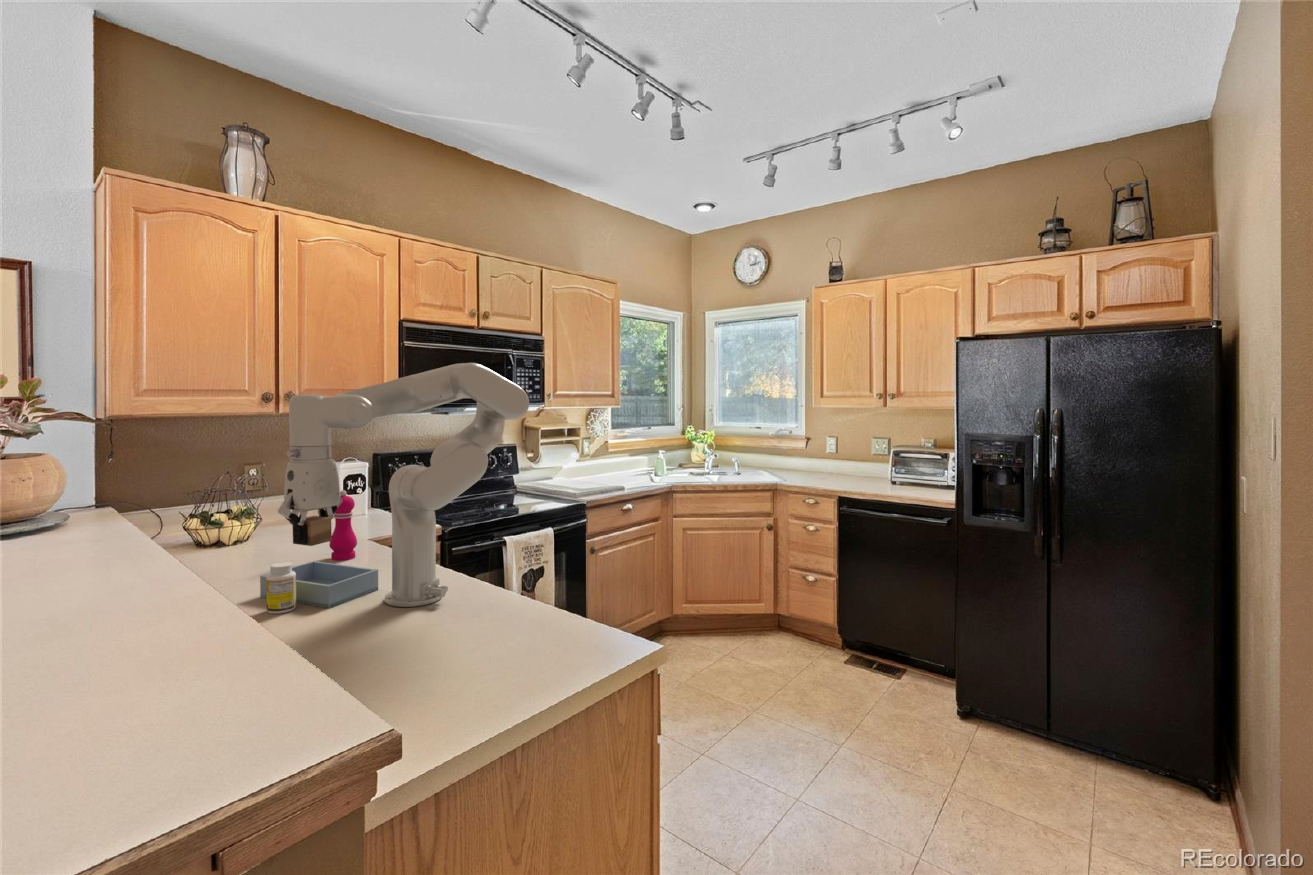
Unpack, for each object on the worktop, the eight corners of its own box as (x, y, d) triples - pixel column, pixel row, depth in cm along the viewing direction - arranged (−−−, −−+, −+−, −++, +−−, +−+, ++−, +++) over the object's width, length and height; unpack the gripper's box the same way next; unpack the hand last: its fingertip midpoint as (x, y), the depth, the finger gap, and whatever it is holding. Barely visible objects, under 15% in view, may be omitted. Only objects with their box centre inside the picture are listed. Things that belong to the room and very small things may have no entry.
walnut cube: (331, 540, 127) (331, 517, 127) (311, 546, 123) (310, 521, 122) (313, 538, 129) (313, 515, 129) (292, 543, 124) (292, 519, 124)
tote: (378, 589, 148) (378, 569, 147) (328, 608, 134) (328, 586, 133) (313, 580, 154) (313, 561, 154) (260, 597, 140) (260, 576, 140)
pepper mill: (336, 562, 171) (336, 493, 170) (324, 558, 175) (324, 490, 174) (361, 557, 177) (361, 490, 176) (349, 553, 181) (349, 487, 180)
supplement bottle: (277, 605, 135) (276, 560, 134) (301, 606, 135) (301, 561, 134) (260, 614, 129) (260, 567, 129) (286, 615, 129) (285, 568, 128)
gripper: (287, 458, 115) (289, 551, 116) (357, 452, 131) (358, 534, 133) (259, 456, 118) (261, 548, 119) (331, 450, 134) (332, 531, 135)
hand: (312, 539), depth 126 cm, fingers closed on walnut cube, 5 cm apart
